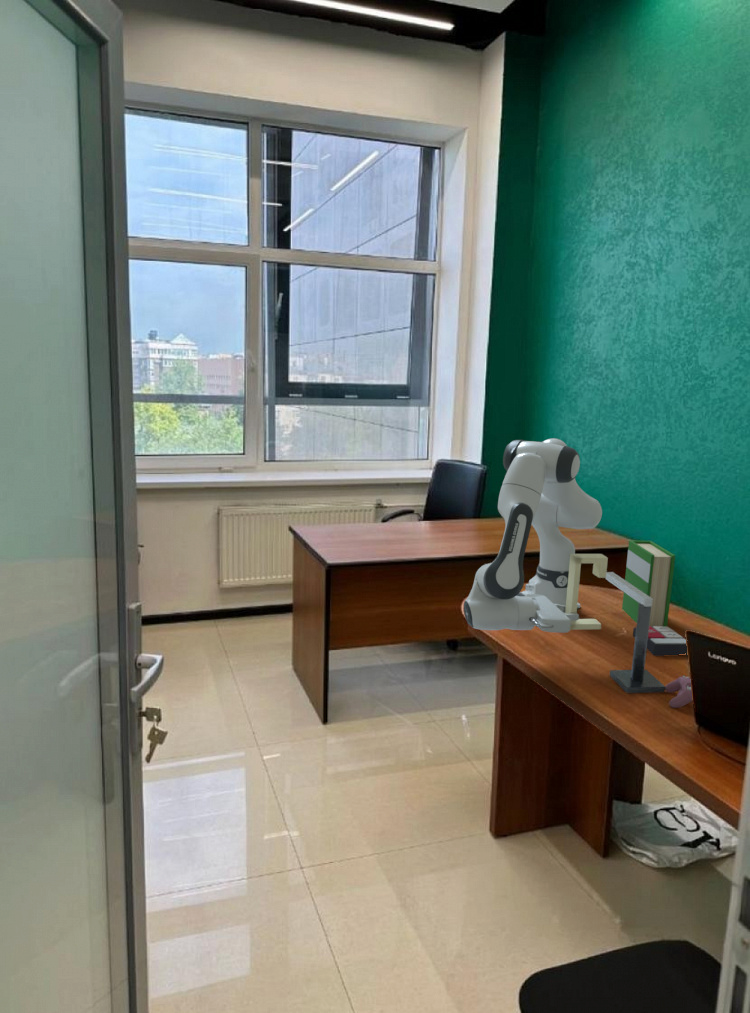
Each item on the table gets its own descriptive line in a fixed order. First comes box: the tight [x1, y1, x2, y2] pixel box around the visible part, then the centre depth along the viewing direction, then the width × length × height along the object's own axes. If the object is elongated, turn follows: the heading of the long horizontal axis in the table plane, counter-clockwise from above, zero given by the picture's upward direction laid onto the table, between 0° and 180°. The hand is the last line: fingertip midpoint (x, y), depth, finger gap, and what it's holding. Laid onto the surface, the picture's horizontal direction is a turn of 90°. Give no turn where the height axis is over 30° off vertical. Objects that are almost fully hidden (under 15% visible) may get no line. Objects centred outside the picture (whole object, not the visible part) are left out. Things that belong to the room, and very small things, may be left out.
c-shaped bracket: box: [565, 553, 609, 631], centre depth 189 cm, size 4×9×20 cm, turn 96°
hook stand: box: [605, 571, 666, 694], centre depth 186 cm, size 26×10×24 cm, turn 6°
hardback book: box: [621, 540, 676, 628], centre depth 224 cm, size 18×7×24 cm, turn 2°
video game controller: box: [664, 675, 693, 709], centre depth 171 cm, size 10×5×7 cm, turn 165°
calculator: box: [632, 625, 688, 657], centre depth 206 cm, size 11×4×15 cm
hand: (573, 612), depth 189 cm, fingers closed on c-shaped bracket, 4 cm apart
